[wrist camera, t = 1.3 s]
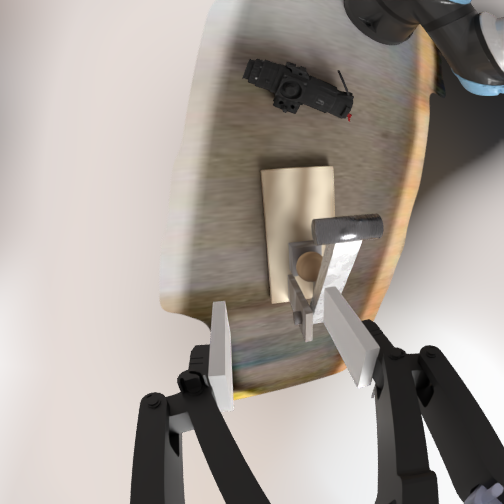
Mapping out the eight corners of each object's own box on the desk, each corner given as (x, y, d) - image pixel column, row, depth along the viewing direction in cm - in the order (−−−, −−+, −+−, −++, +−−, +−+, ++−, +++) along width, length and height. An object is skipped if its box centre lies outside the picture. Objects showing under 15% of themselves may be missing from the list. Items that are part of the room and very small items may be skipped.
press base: (328, 165, 45) (369, 172, 31) (329, 289, 53) (359, 333, 39) (260, 170, 44) (275, 177, 30) (270, 298, 53) (284, 347, 39)
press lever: (375, 208, 26) (385, 226, 25) (336, 306, 42) (341, 320, 41) (313, 213, 26) (320, 232, 24) (294, 313, 42) (298, 328, 40)
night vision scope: (242, 81, 41) (260, 33, 33) (334, 116, 44) (360, 75, 36) (234, 100, 37) (254, 44, 28) (340, 139, 40) (371, 93, 32)
